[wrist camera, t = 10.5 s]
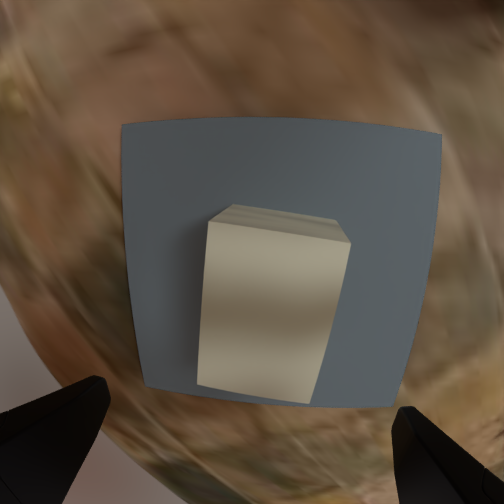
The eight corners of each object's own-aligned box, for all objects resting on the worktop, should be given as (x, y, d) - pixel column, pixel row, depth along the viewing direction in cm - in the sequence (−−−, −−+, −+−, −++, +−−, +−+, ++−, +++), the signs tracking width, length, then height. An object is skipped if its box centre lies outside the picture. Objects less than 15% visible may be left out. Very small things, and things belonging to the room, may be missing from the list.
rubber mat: (437, 135, 15) (441, 134, 15) (391, 401, 20) (392, 406, 20) (126, 125, 17) (121, 124, 17) (148, 381, 22) (144, 386, 22)
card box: (308, 349, 19) (309, 404, 14) (219, 334, 20) (197, 384, 15) (335, 219, 17) (351, 243, 12) (232, 204, 17) (208, 221, 12)
